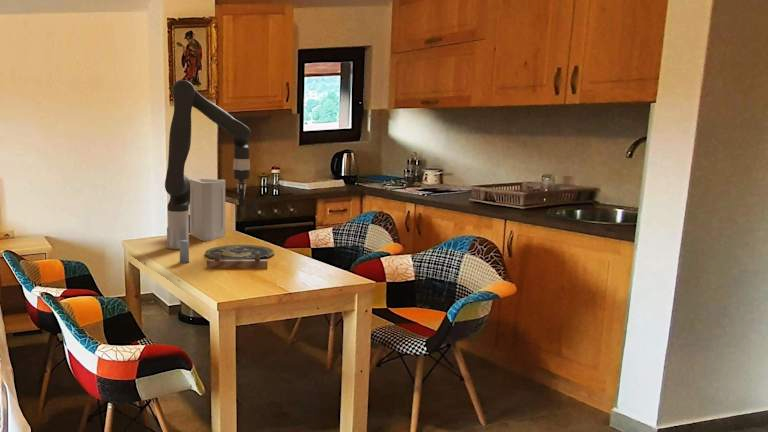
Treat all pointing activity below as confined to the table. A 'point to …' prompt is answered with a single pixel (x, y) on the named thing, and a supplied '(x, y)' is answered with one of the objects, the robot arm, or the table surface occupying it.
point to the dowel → (184, 251)
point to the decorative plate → (239, 252)
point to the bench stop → (237, 262)
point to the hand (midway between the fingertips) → (241, 204)
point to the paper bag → (207, 208)
